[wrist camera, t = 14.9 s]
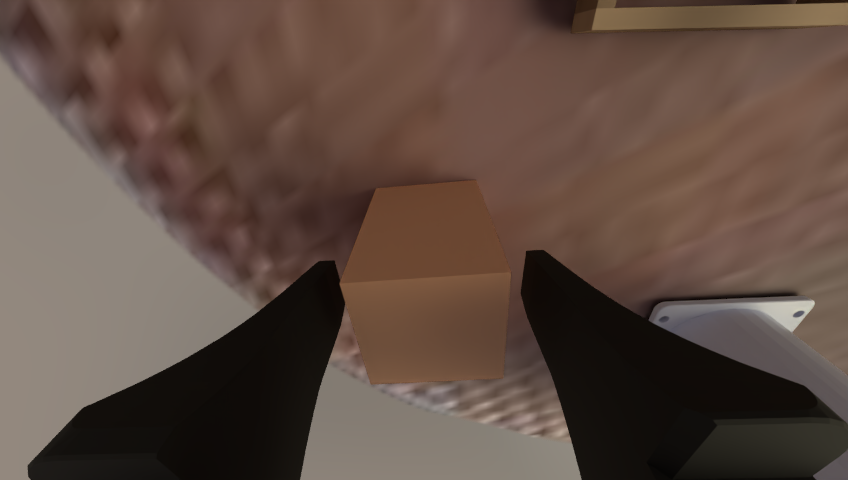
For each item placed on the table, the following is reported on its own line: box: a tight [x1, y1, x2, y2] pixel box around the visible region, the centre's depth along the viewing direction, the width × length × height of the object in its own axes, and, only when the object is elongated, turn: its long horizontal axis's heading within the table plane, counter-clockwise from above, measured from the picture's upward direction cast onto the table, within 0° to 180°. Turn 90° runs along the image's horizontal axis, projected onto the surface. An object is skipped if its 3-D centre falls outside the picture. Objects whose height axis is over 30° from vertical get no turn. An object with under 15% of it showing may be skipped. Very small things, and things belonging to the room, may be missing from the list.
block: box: [339, 180, 511, 384], centre depth 12 cm, size 4×4×6 cm
